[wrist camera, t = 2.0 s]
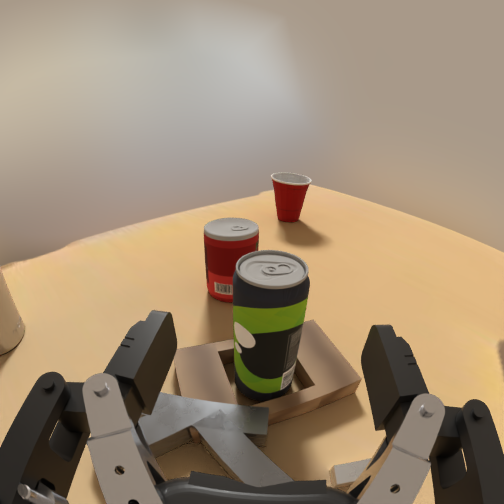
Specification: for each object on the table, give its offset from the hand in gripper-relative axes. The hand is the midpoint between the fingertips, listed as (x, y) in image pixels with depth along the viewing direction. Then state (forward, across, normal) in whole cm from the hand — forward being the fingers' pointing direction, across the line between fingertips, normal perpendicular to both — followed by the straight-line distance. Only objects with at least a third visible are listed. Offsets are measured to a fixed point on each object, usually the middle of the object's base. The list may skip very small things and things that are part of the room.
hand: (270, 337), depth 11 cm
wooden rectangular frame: (+11, 0, +18) cm, 21 cm away
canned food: (+29, +6, +18) cm, 35 cm away
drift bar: (0, -11, +18) cm, 21 cm away
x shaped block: (+1, +6, +18) cm, 19 cm away
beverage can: (+11, 0, +18) cm, 21 cm away
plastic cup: (+65, -4, +18) cm, 67 cm away
